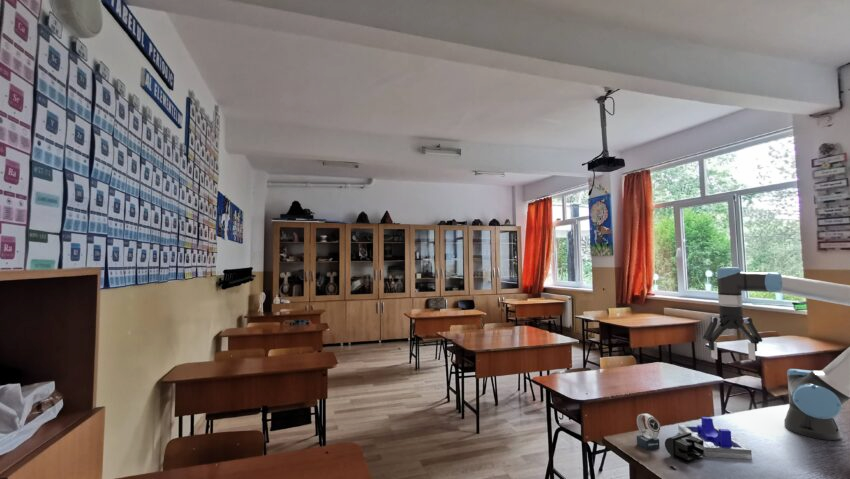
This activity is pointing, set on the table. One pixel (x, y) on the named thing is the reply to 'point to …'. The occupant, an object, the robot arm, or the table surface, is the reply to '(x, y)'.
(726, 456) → the grey tray
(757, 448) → the table surface
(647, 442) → the watch
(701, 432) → the cable clip
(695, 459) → the end cap
